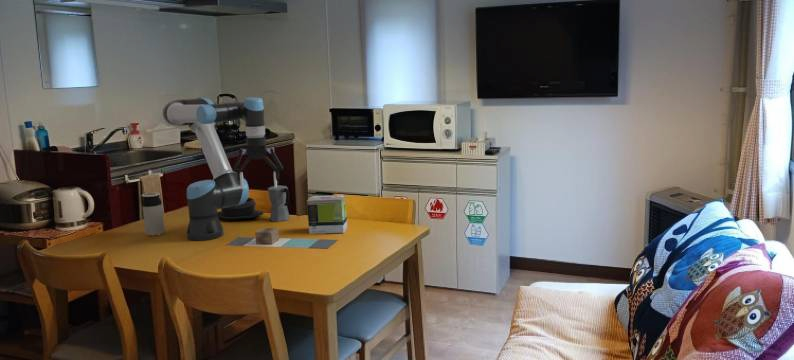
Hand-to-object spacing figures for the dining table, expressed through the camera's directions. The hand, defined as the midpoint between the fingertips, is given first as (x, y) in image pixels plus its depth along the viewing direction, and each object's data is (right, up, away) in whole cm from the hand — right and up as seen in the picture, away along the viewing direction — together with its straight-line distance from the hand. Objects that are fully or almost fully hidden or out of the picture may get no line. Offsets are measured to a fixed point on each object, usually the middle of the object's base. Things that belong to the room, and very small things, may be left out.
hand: (259, 187), depth 271 cm
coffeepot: (+3, -15, +36) cm, 39 cm away
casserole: (-19, -15, +44) cm, 50 cm away
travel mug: (-50, -21, +19) cm, 57 cm away
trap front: (+27, -22, -8) cm, 36 cm away
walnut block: (+4, -22, -2) cm, 22 cm away
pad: (+18, -22, -5) cm, 29 cm away
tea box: (+27, -19, +13) cm, 35 cm away
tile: (+4, -22, -2) cm, 23 cm away
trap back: (-8, -22, +1) cm, 23 cm away
